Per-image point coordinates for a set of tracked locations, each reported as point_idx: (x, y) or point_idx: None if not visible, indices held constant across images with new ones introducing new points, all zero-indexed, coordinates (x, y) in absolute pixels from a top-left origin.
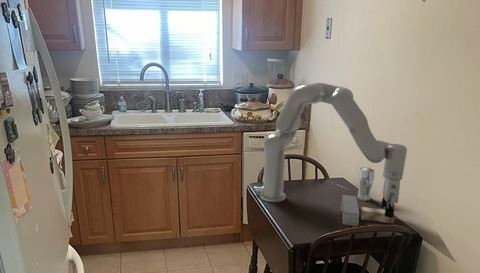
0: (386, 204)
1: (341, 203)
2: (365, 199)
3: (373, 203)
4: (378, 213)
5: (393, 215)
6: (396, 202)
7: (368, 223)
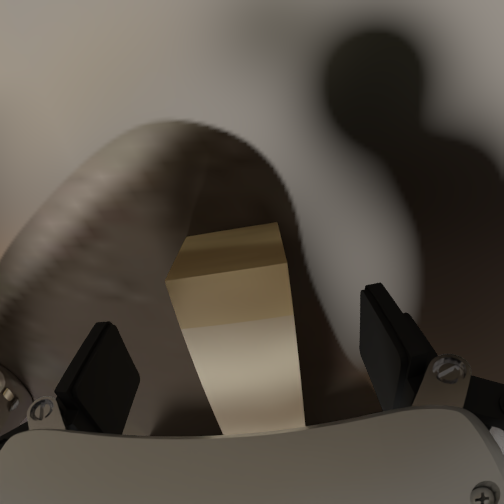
0: (114, 370)
1: None
2: (18, 390)
3: (13, 349)
4: (301, 389)
5: (286, 268)
6: (477, 424)
7: (351, 377)
